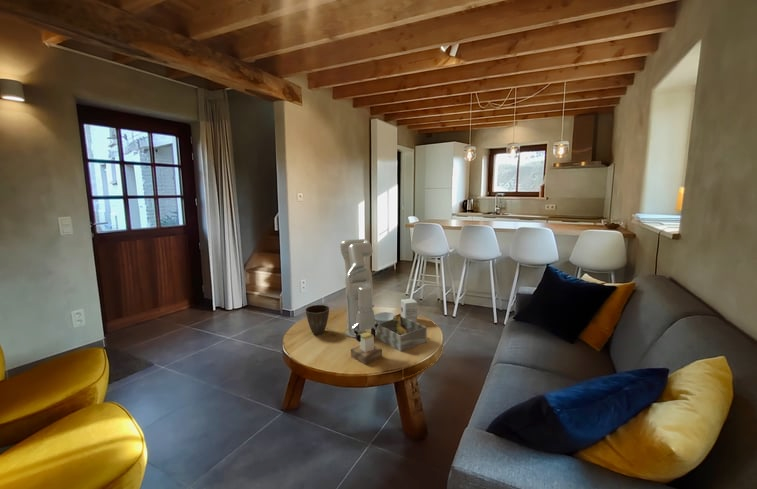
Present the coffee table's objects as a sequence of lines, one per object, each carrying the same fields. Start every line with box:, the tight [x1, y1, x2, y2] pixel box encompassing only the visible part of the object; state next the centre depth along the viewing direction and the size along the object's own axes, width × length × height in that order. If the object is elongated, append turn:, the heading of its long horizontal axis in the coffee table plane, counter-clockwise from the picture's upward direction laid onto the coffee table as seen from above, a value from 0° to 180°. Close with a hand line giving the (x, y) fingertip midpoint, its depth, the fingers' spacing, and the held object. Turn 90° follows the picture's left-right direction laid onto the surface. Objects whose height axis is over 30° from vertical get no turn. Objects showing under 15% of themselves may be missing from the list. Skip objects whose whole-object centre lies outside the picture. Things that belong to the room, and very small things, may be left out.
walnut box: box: [350, 345, 383, 366], centre depth 186 cm, size 12×12×5 cm
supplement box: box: [400, 297, 418, 323], centre depth 235 cm, size 9×9×15 cm
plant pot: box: [305, 304, 330, 335], centre depth 218 cm, size 15×15×16 cm
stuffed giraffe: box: [393, 313, 407, 335], centre depth 206 cm, size 16×18×16 cm
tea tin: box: [359, 331, 375, 352], centre depth 185 cm, size 6×6×8 cm
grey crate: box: [375, 317, 428, 352], centre depth 207 cm, size 23×21×9 cm
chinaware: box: [374, 311, 396, 323], centre depth 226 cm, size 15×15×8 cm
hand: (365, 338), depth 185 cm, fingers open, 9 cm apart
